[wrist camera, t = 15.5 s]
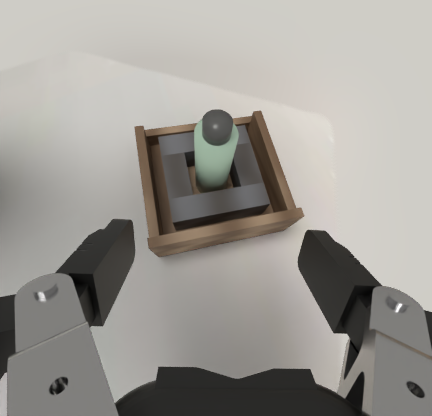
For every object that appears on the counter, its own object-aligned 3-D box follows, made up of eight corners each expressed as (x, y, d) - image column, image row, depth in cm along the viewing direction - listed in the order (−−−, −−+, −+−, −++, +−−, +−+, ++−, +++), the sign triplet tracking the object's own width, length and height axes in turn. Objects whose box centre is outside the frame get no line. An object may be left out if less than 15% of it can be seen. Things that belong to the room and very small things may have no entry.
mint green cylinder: (198, 199, 29) (199, 145, 18) (192, 172, 30) (189, 106, 19) (229, 193, 29) (247, 138, 18) (221, 167, 30) (234, 100, 20)
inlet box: (158, 257, 27) (148, 248, 21) (143, 144, 32) (131, 114, 26) (283, 230, 29) (304, 216, 24) (250, 130, 34) (260, 98, 29)
